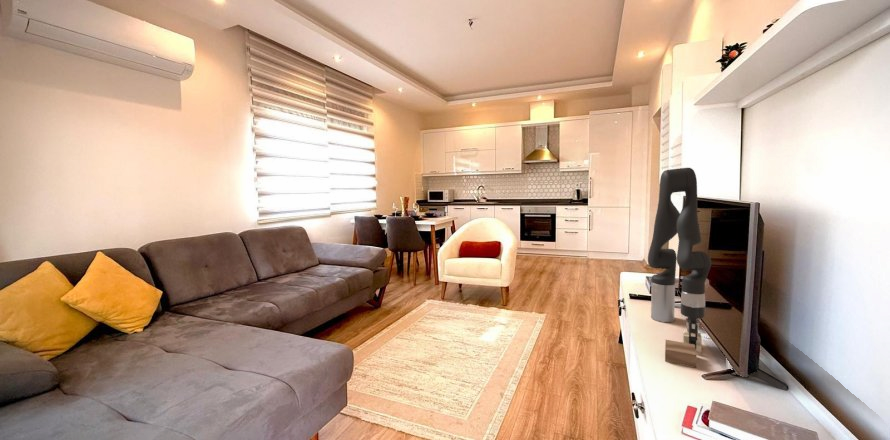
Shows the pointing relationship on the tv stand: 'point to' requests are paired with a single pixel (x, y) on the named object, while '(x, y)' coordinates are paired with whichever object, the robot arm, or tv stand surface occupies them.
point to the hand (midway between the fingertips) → (691, 344)
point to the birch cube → (698, 342)
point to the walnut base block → (680, 353)
